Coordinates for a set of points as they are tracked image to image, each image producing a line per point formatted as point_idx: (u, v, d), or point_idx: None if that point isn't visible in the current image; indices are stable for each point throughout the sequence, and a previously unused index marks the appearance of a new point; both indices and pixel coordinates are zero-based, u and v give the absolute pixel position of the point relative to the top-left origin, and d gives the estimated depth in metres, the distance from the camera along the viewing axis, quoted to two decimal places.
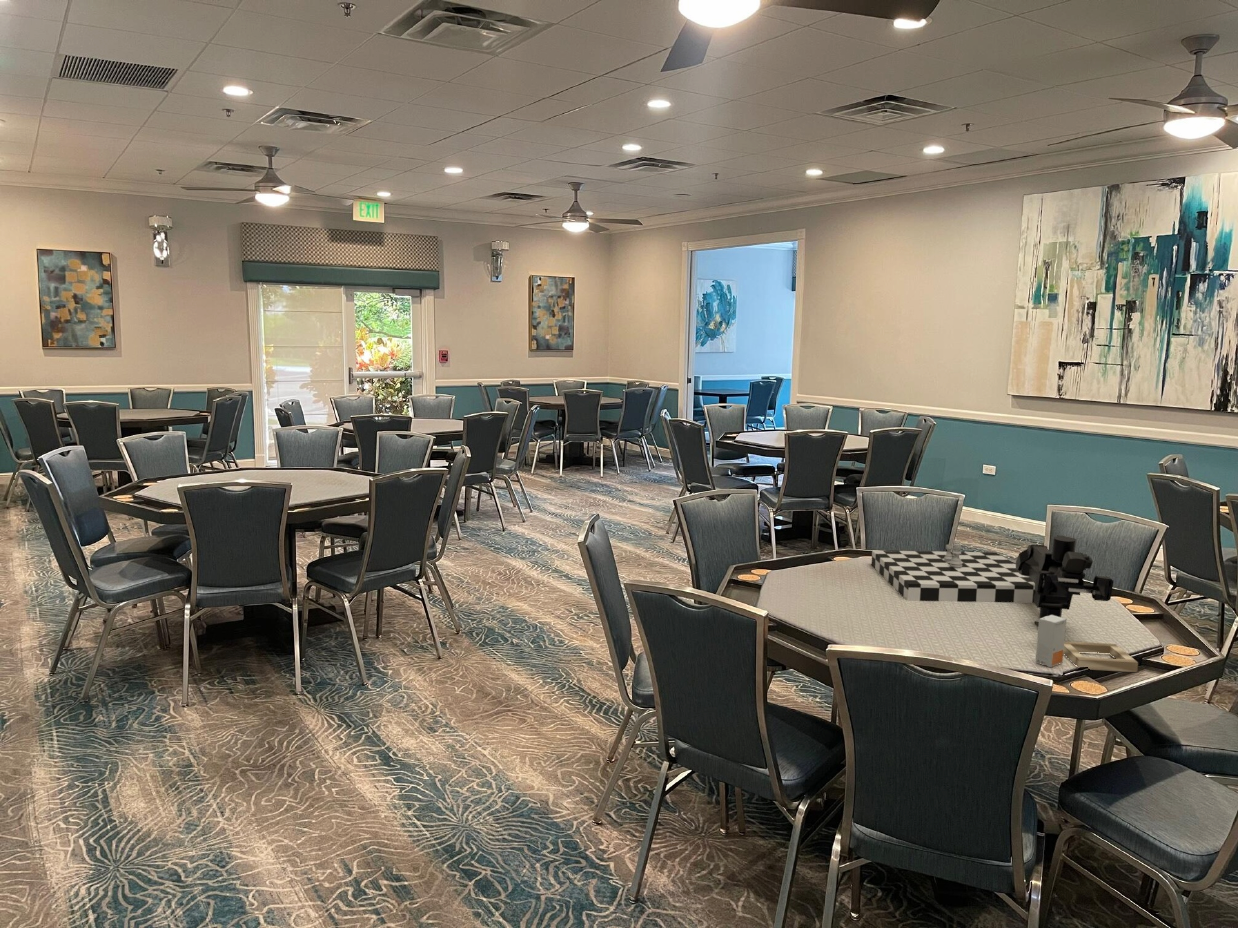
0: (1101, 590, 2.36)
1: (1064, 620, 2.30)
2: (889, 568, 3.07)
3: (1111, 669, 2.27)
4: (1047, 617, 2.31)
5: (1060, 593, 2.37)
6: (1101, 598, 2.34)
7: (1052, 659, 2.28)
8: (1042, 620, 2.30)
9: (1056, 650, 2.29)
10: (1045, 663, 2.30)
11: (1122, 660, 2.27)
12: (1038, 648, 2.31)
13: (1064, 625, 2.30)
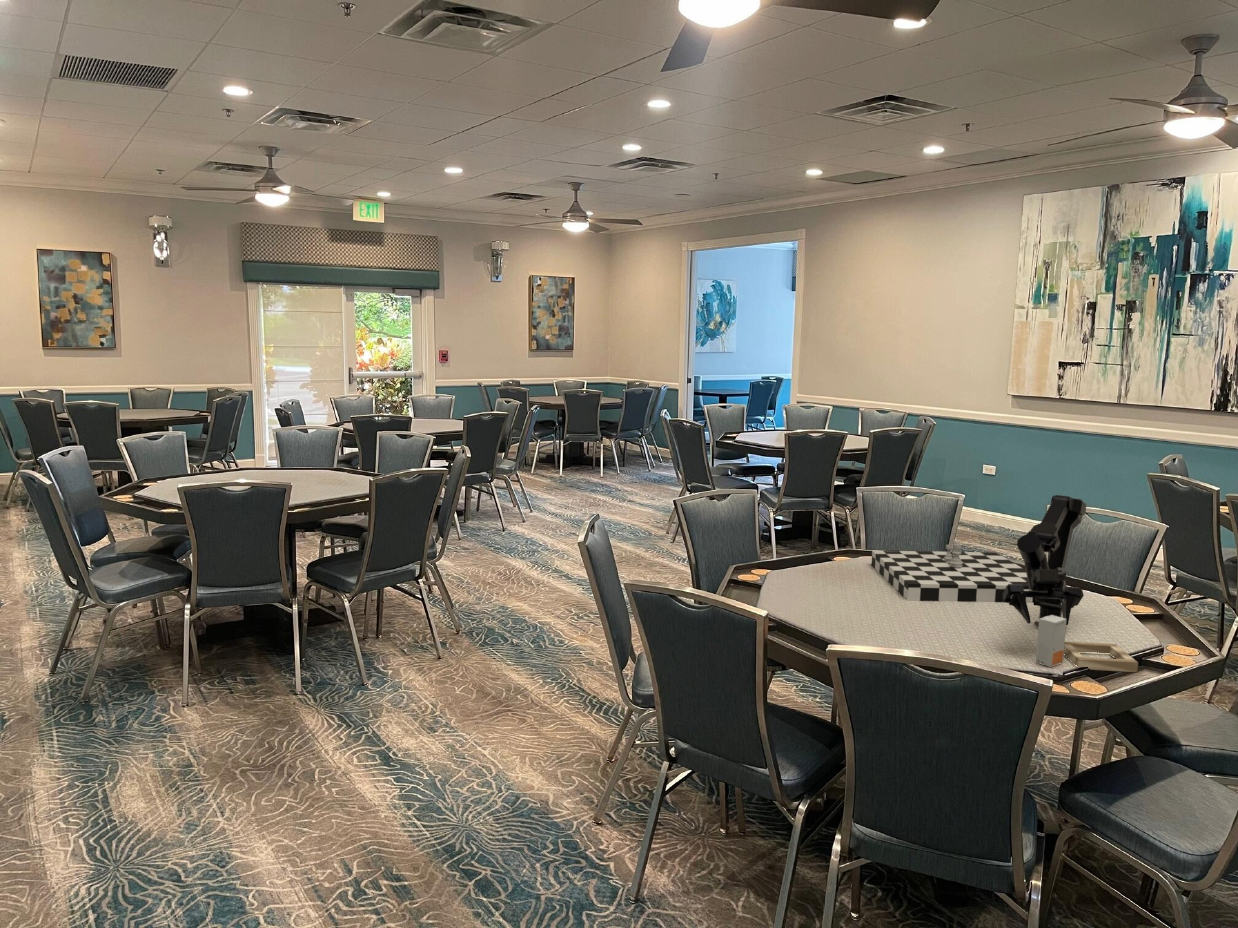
0: (1067, 612, 2.33)
1: (1064, 620, 2.30)
2: (889, 568, 3.07)
3: (1111, 669, 2.27)
4: (1047, 617, 2.31)
5: (1024, 616, 2.35)
6: None
7: (1052, 659, 2.28)
8: (1042, 620, 2.29)
9: (1056, 650, 2.29)
10: (1045, 663, 2.30)
11: (1122, 660, 2.27)
12: (1038, 648, 2.31)
13: (1064, 625, 2.30)
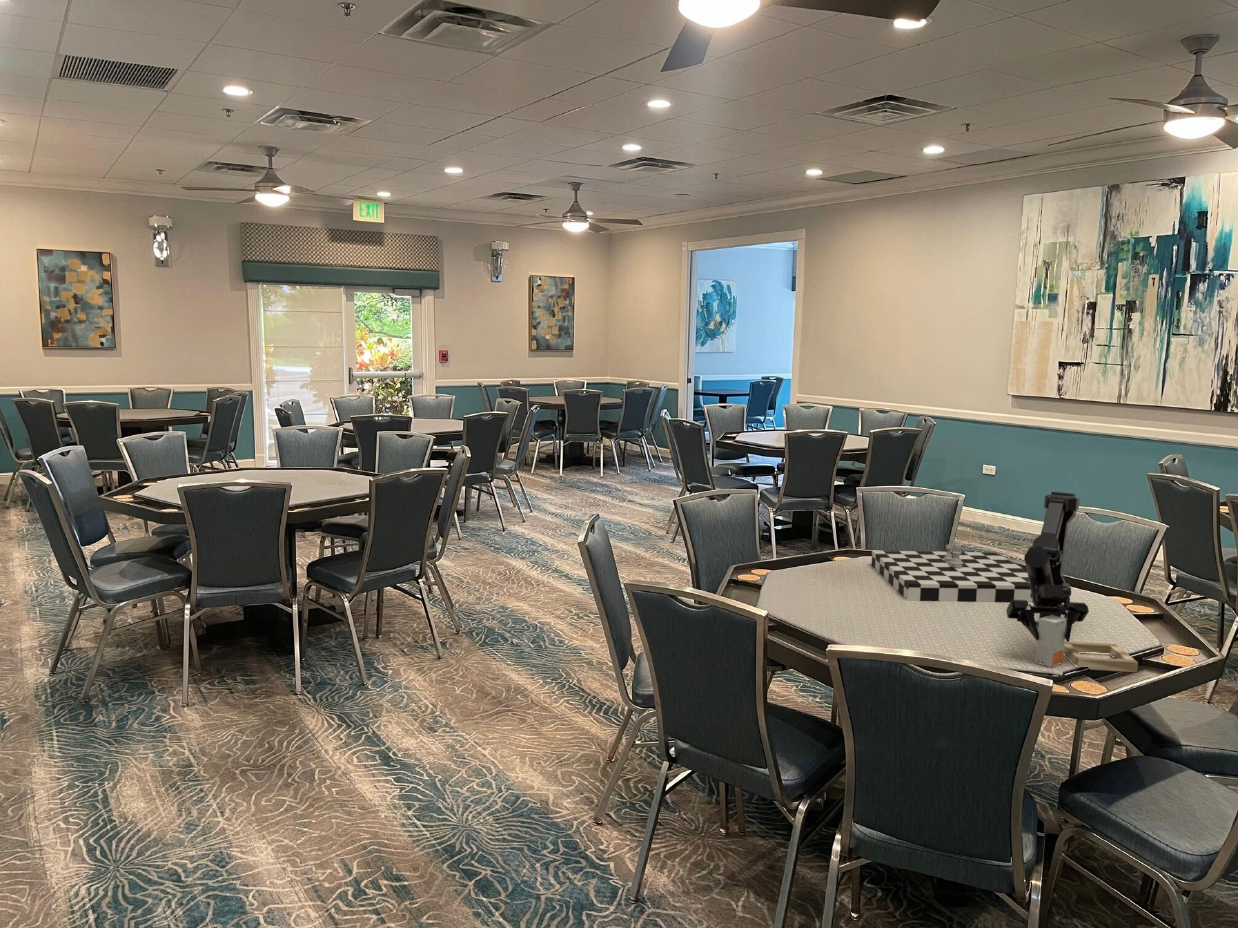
0: (1068, 628, 2.30)
1: (1064, 620, 2.30)
2: (889, 568, 3.07)
3: (1111, 669, 2.27)
4: (1047, 617, 2.31)
5: (1033, 633, 2.32)
6: (1066, 639, 2.30)
7: (1052, 659, 2.28)
8: (1042, 620, 2.29)
9: (1056, 650, 2.29)
10: (1045, 663, 2.30)
11: (1122, 660, 2.27)
12: (1038, 648, 2.31)
13: (1064, 625, 2.30)
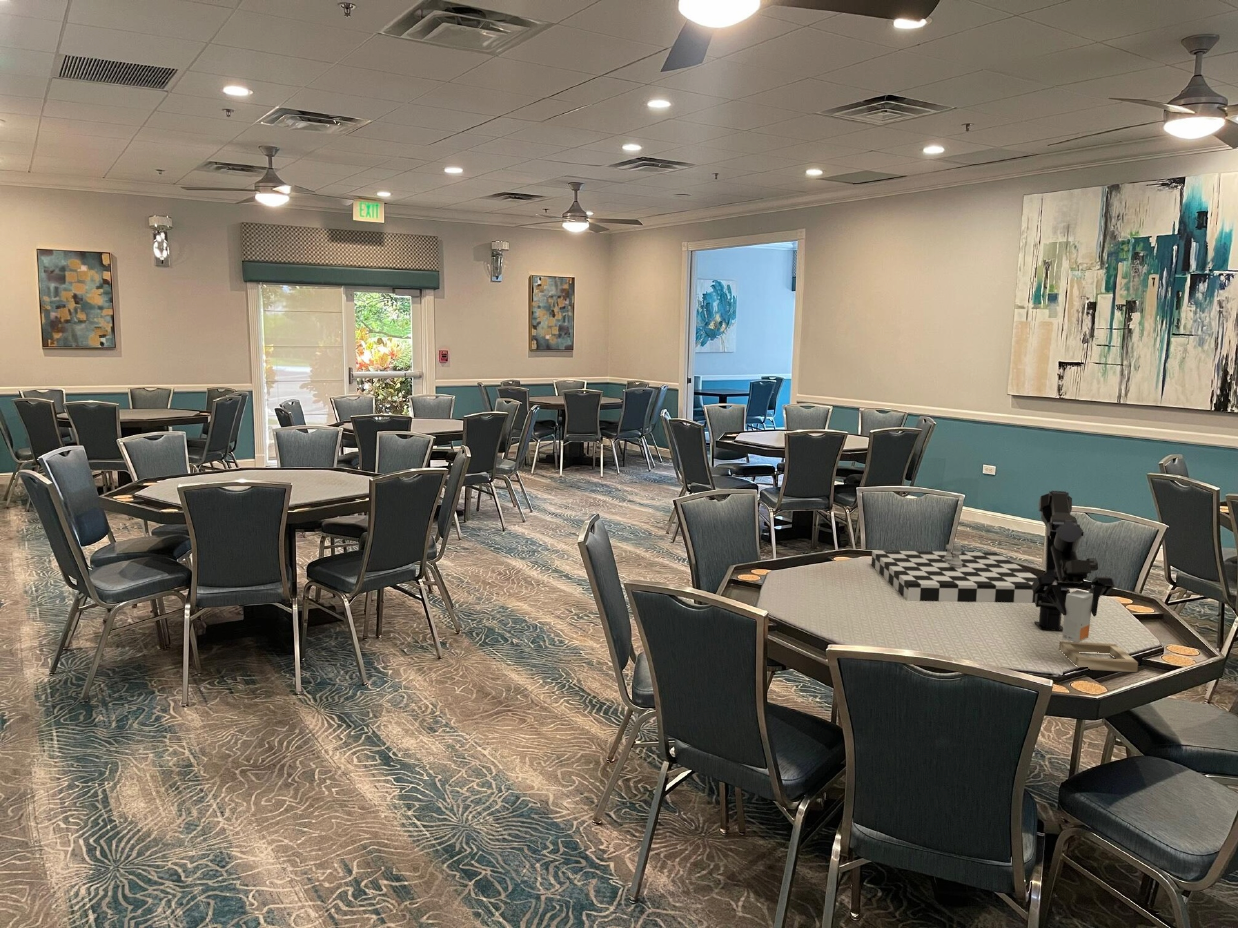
0: (1095, 603, 2.30)
1: (1091, 595, 2.29)
2: (889, 568, 3.07)
3: (1111, 669, 2.27)
4: (1074, 592, 2.31)
5: (1059, 608, 2.31)
6: (1092, 613, 2.30)
7: (1079, 634, 2.28)
8: (1070, 596, 2.29)
9: (1083, 625, 2.29)
10: (1072, 638, 2.29)
11: (1122, 660, 2.27)
12: (1065, 624, 2.30)
13: (1091, 600, 2.30)
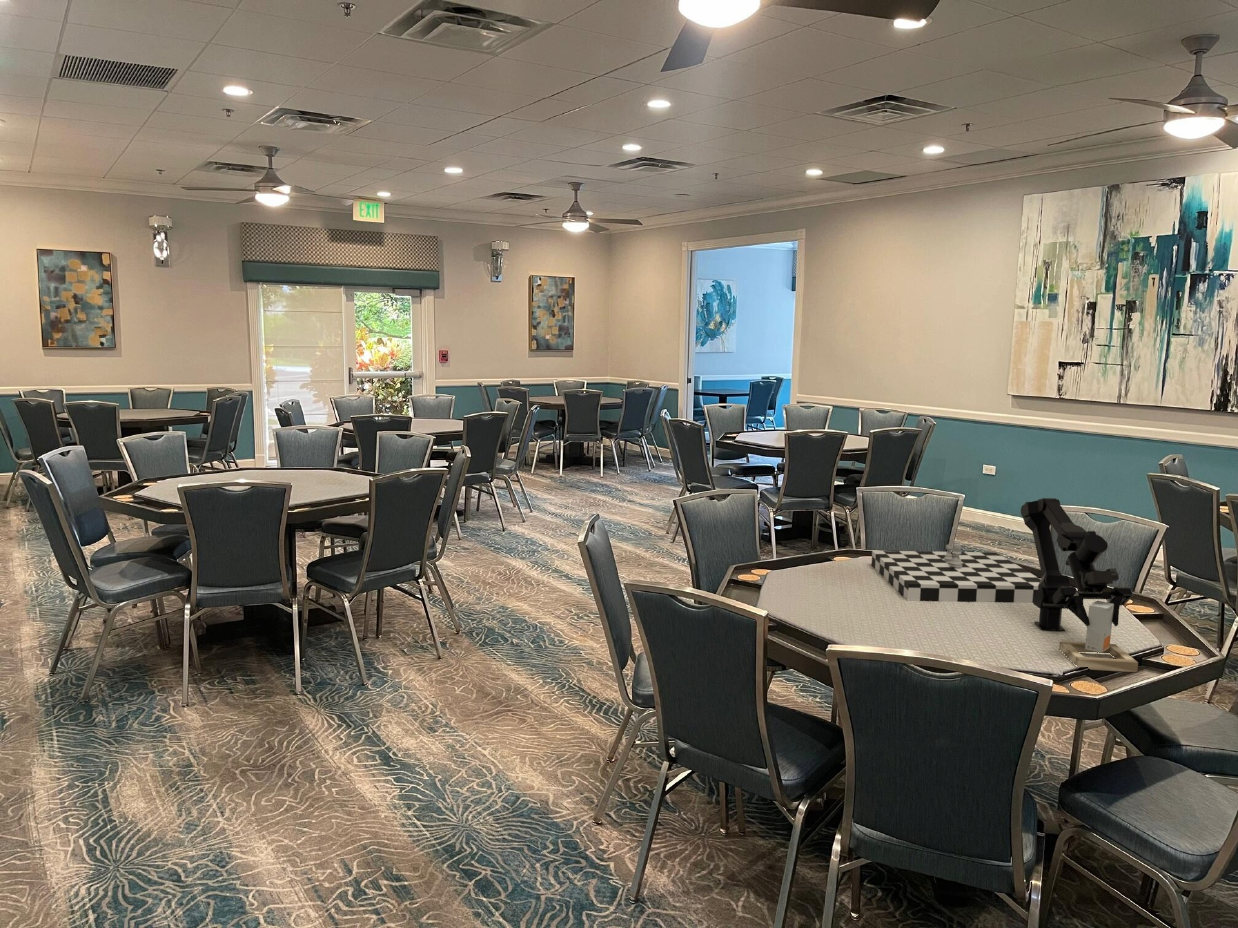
0: (1116, 613, 2.33)
1: (1112, 605, 2.32)
2: (889, 568, 3.07)
3: (1111, 669, 2.27)
4: (1095, 603, 2.33)
5: (1082, 619, 2.33)
6: (1114, 623, 2.32)
7: (1103, 644, 2.30)
8: (1093, 606, 2.31)
9: (1106, 635, 2.31)
10: (1096, 649, 2.31)
11: (1122, 660, 2.27)
12: (1088, 634, 2.32)
13: (1112, 610, 2.32)
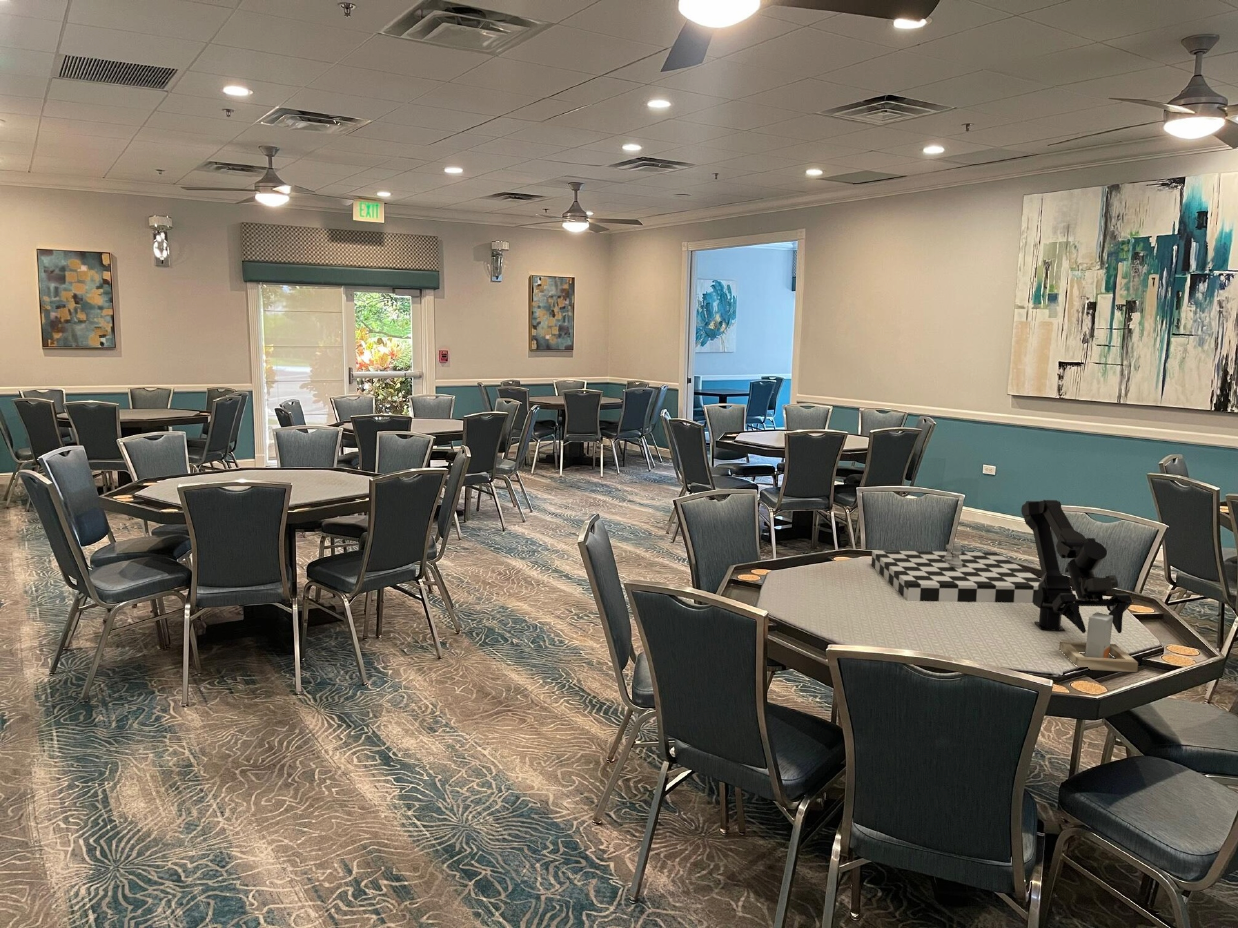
0: (1119, 620, 2.33)
1: (1111, 617, 2.33)
2: (889, 568, 3.07)
3: (1111, 669, 2.27)
4: (1095, 615, 2.33)
5: (1078, 626, 2.33)
6: (1117, 630, 2.33)
7: (1102, 656, 2.31)
8: (1092, 618, 2.31)
9: (1105, 647, 2.32)
10: None
11: (1122, 660, 2.27)
12: (1088, 646, 2.33)
13: (1111, 622, 2.33)
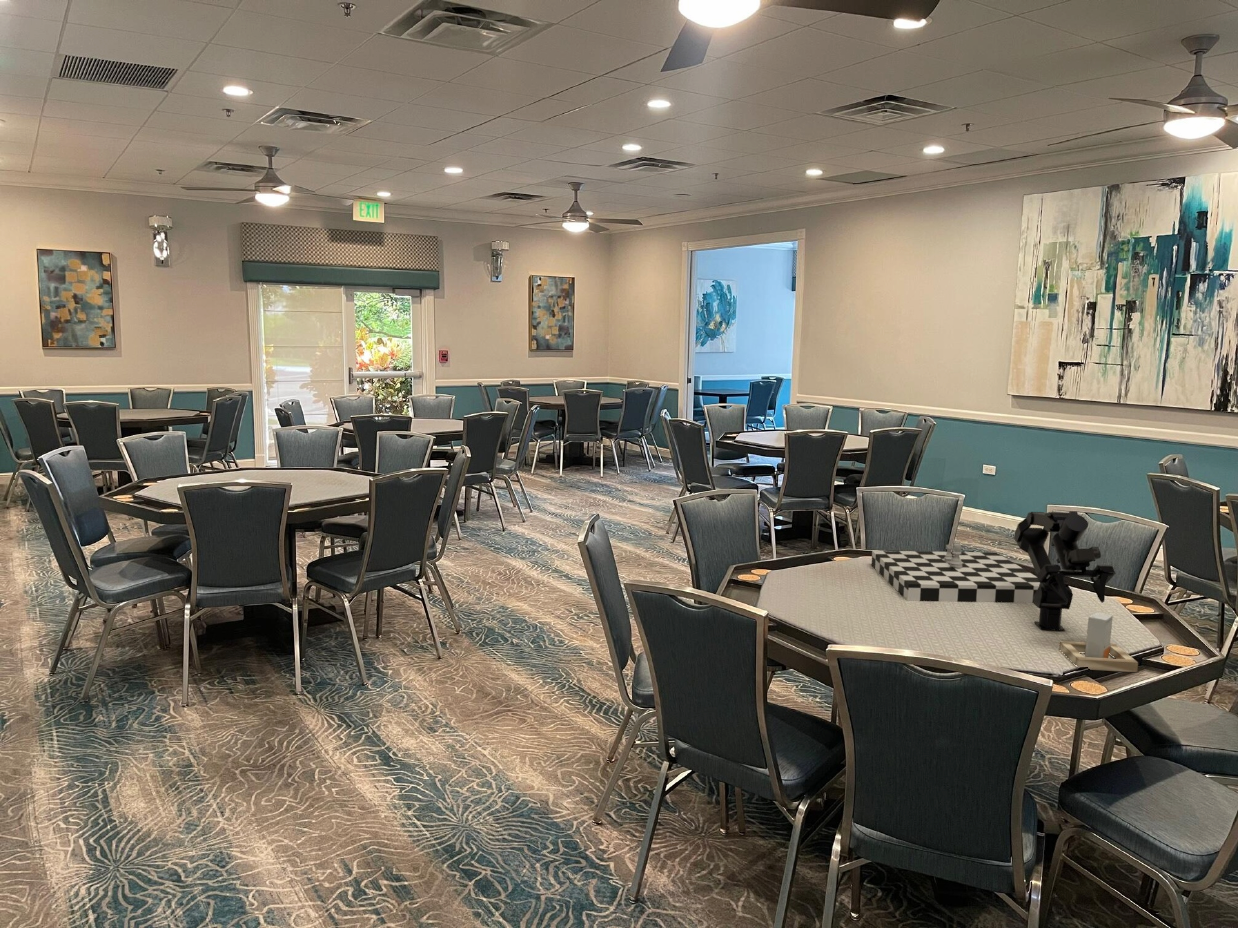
0: (1102, 589, 2.41)
1: (1111, 617, 2.33)
2: (889, 568, 3.07)
3: (1111, 669, 2.27)
4: (1094, 615, 2.34)
5: (1062, 596, 2.41)
6: (1100, 600, 2.41)
7: (1102, 656, 2.31)
8: (1092, 618, 2.31)
9: (1105, 647, 2.32)
10: None
11: (1122, 660, 2.27)
12: (1088, 646, 2.33)
13: (1111, 622, 2.33)
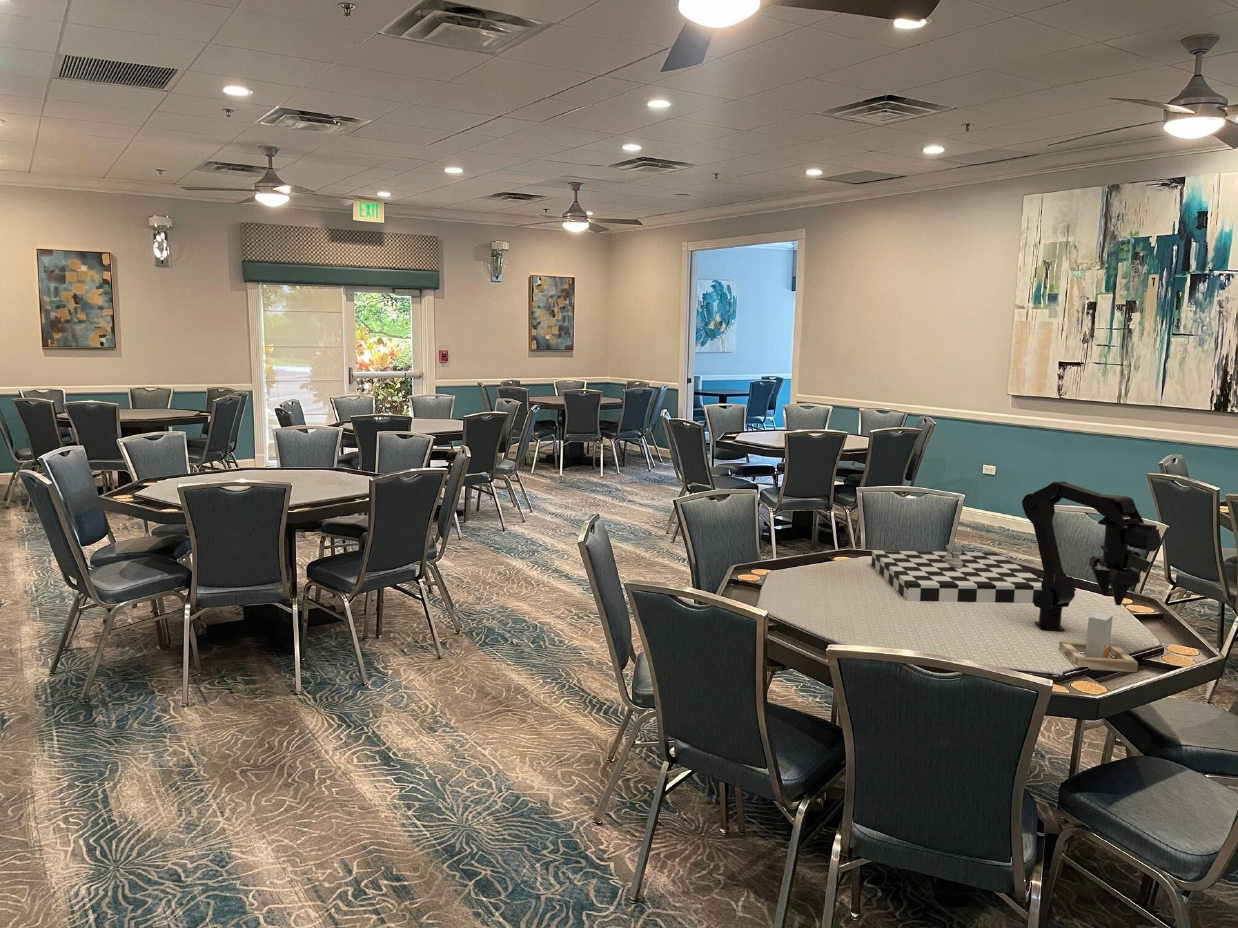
0: None
1: (1111, 617, 2.33)
2: (889, 568, 3.07)
3: (1111, 669, 2.27)
4: (1094, 615, 2.34)
5: (1118, 598, 2.38)
6: (1103, 593, 2.48)
7: (1102, 656, 2.31)
8: (1092, 618, 2.31)
9: (1105, 647, 2.32)
10: None
11: (1122, 660, 2.27)
12: (1088, 646, 2.33)
13: (1111, 622, 2.33)
